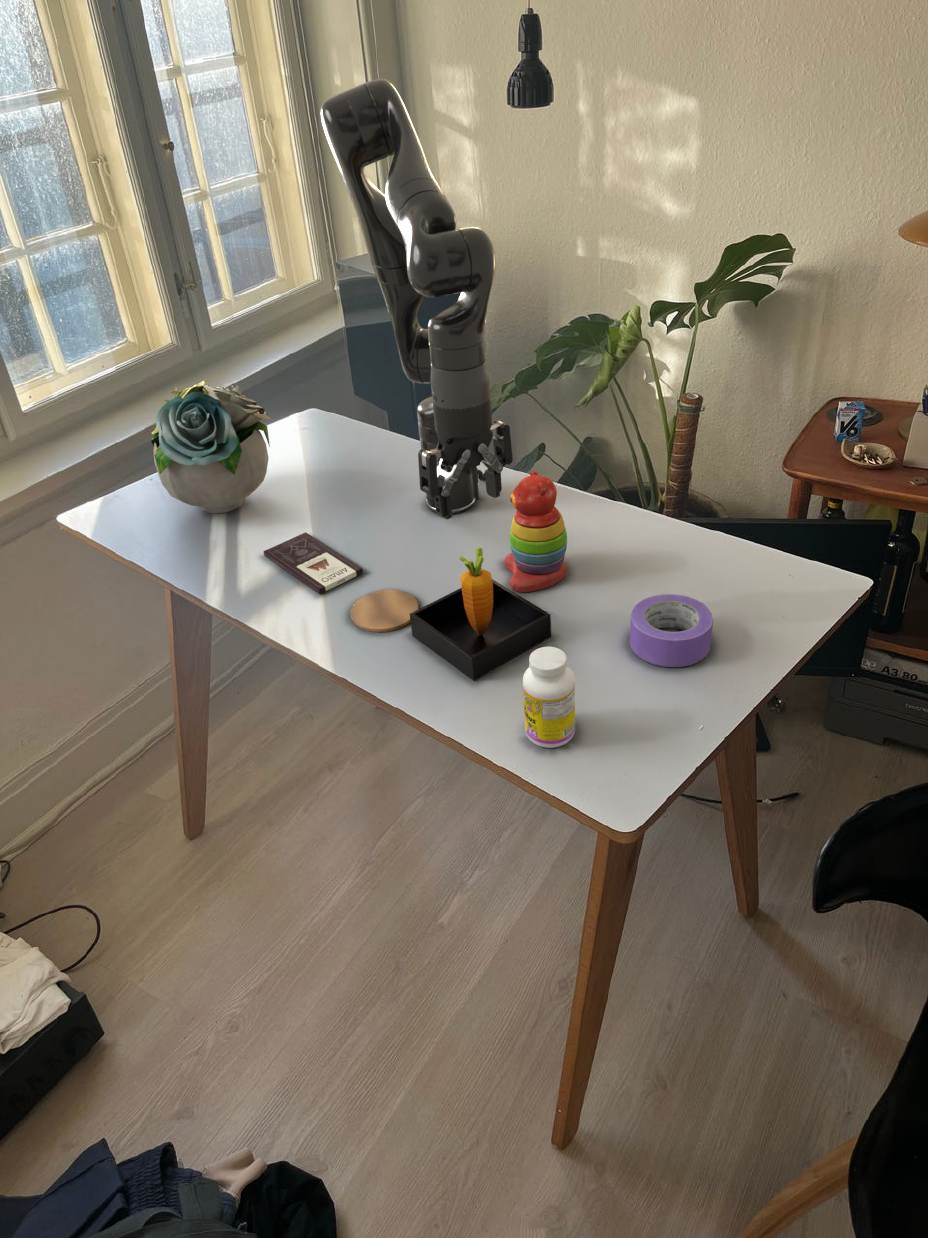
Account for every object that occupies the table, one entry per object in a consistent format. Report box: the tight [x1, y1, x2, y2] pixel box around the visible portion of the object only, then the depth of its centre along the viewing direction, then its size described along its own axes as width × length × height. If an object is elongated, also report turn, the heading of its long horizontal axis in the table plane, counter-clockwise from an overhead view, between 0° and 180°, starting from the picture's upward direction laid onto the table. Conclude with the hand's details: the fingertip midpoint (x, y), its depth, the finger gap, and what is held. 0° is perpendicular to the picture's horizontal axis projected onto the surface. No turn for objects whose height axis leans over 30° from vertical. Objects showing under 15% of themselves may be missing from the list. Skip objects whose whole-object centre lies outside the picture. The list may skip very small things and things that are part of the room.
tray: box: [410, 578, 552, 682], centre depth 139 cm, size 15×15×4 cm
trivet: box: [349, 589, 420, 633], centre depth 148 cm, size 11×11×1 cm
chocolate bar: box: [263, 531, 364, 595], centre depth 161 cm, size 9×1×18 cm
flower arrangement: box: [150, 377, 272, 514], centre depth 175 cm, size 25×25×24 cm
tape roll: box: [629, 593, 714, 668], centre depth 134 cm, size 12×12×5 cm
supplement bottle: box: [522, 646, 576, 749], centre depth 118 cm, size 7×7×13 cm
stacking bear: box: [504, 470, 568, 593], centre depth 148 cm, size 11×10×18 cm
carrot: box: [458, 546, 493, 636], centre depth 136 cm, size 5×5×15 cm
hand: (469, 506), depth 127 cm, fingers open, 8 cm apart
